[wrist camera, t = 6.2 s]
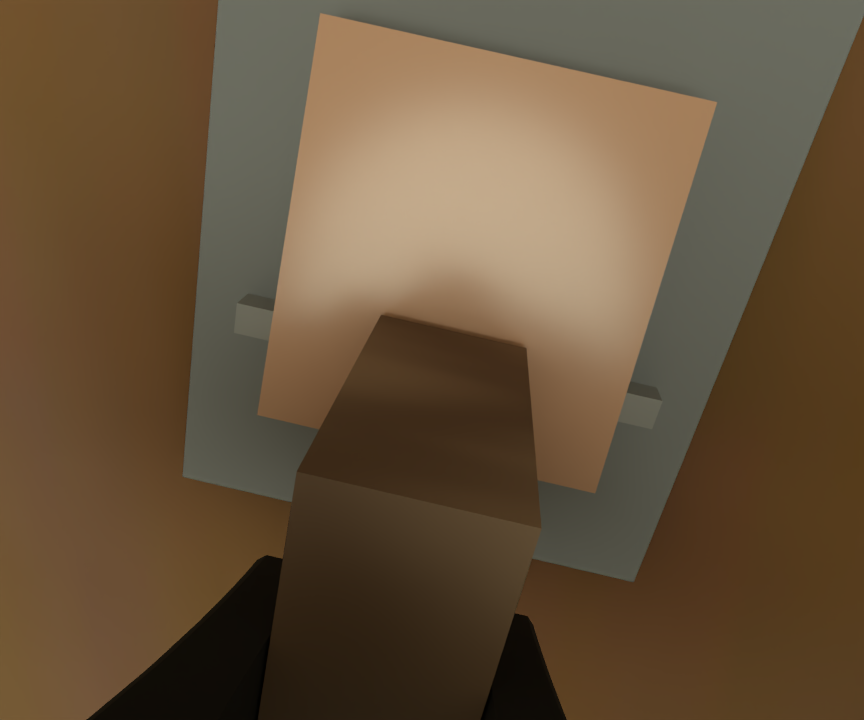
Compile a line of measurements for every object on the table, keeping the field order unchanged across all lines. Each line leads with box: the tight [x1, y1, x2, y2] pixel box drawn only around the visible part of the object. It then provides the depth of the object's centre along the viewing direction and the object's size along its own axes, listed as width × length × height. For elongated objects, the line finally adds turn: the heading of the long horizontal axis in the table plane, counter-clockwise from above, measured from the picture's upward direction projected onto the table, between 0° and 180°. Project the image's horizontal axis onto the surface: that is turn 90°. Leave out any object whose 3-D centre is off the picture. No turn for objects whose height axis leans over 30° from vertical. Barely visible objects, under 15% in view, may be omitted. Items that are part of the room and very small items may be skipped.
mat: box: [183, 0, 864, 582], centre depth 12 cm, size 10×14×1 cm
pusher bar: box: [258, 315, 542, 720], centre depth 10 cm, size 2×7×5 cm, turn 168°
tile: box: [257, 13, 717, 493], centre depth 12 cm, size 6×1×6 cm
